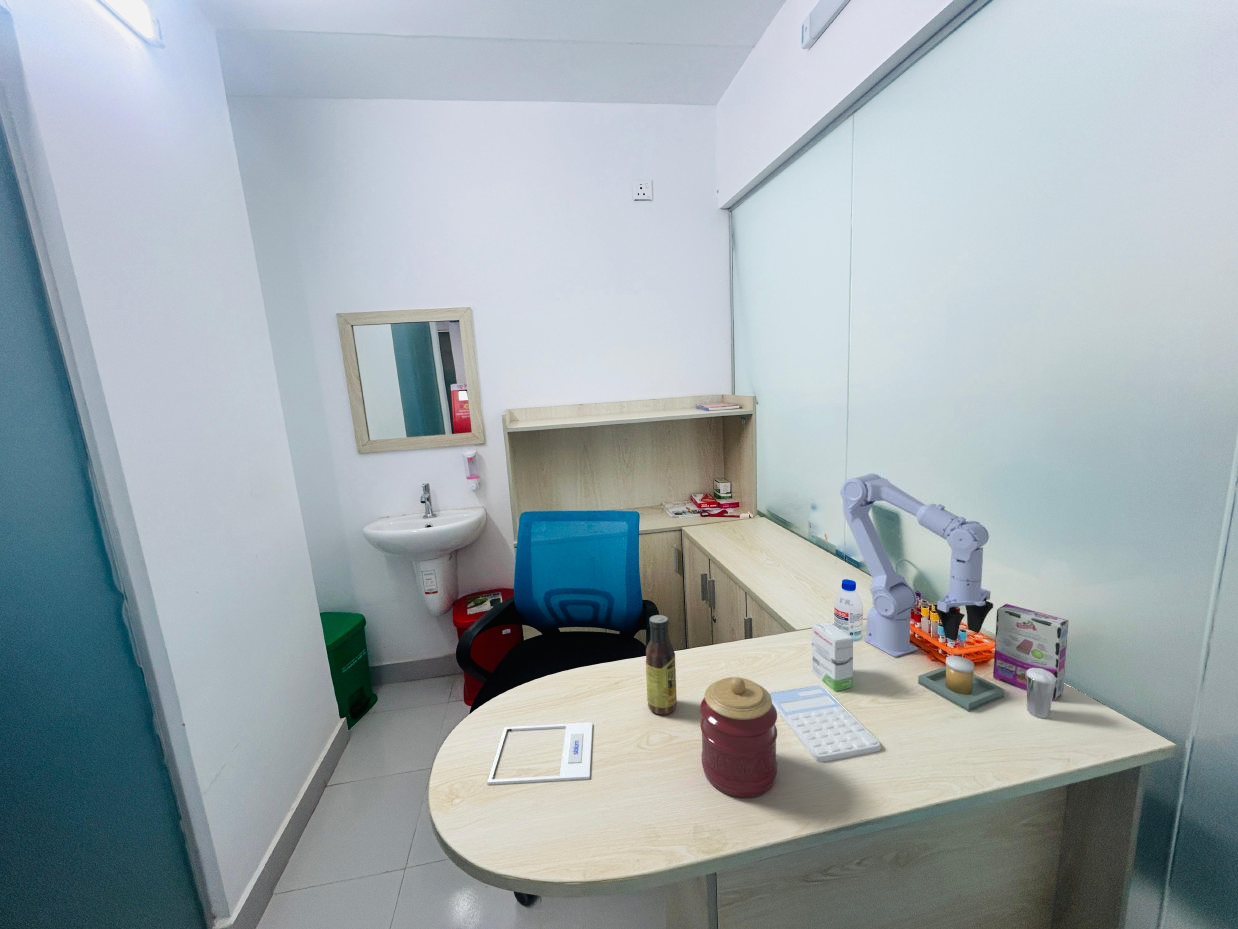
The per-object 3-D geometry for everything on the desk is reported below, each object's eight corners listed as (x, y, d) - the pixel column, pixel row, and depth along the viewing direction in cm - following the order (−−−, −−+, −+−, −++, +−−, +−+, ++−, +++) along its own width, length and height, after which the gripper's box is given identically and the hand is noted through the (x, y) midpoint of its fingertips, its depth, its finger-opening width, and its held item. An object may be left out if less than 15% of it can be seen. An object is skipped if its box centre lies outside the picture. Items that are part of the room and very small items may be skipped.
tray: (918, 683, 112) (918, 675, 111) (952, 670, 116) (952, 663, 115) (968, 711, 102) (968, 703, 101) (1003, 697, 106) (1004, 689, 105)
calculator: (817, 765, 90) (817, 756, 90) (765, 699, 110) (765, 691, 109) (883, 753, 92) (883, 743, 92) (821, 690, 112) (821, 682, 112)
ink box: (853, 688, 111) (854, 638, 109) (834, 692, 110) (835, 641, 108) (828, 667, 119) (829, 620, 118) (810, 671, 118) (810, 624, 117)
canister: (702, 797, 84) (699, 700, 81) (700, 743, 96) (698, 657, 94) (783, 803, 82) (783, 703, 79) (771, 746, 95) (770, 659, 92)
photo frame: (589, 775, 89) (487, 781, 89) (589, 781, 89) (487, 787, 89) (592, 721, 103) (504, 726, 103) (592, 726, 103) (504, 731, 103)
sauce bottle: (675, 717, 104) (672, 627, 101) (645, 715, 105) (641, 626, 102) (678, 698, 110) (675, 613, 107) (650, 696, 112) (646, 611, 109)
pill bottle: (939, 684, 110) (940, 658, 109) (956, 679, 111) (958, 654, 111) (960, 697, 105) (961, 670, 104) (978, 691, 107) (980, 665, 106)
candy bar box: (1063, 693, 106) (1070, 619, 103) (1055, 702, 103) (1061, 627, 101) (1001, 670, 115) (1005, 602, 113) (991, 677, 112) (996, 608, 110)
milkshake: (1059, 725, 96) (1063, 677, 95) (1023, 715, 100) (1027, 668, 98) (1057, 712, 100) (1061, 666, 98) (1023, 703, 103) (1026, 658, 102)
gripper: (961, 589, 105) (958, 650, 107) (1006, 576, 110) (1002, 635, 112) (929, 578, 111) (926, 636, 113) (973, 567, 116) (970, 622, 118)
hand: (962, 634), depth 113 cm, fingers open, 7 cm apart
